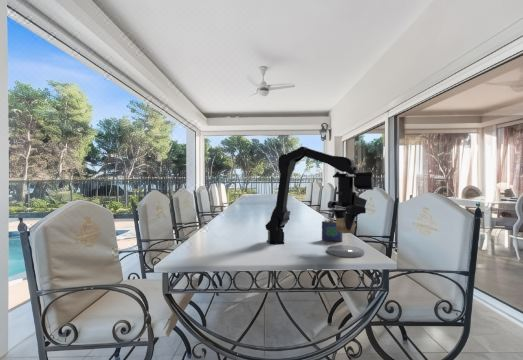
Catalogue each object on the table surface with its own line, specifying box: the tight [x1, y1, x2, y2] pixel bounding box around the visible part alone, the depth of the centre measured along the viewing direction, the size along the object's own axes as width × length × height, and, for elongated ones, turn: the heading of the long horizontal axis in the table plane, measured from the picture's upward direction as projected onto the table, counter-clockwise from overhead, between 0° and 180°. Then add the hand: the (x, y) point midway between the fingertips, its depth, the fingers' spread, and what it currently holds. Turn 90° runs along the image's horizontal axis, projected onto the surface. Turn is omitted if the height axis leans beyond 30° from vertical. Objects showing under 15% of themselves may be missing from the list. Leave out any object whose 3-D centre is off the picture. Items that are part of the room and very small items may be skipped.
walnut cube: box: [335, 217, 356, 234], centre depth 112 cm, size 5×5×5 cm
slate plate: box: [326, 244, 365, 259], centre depth 112 cm, size 14×14×1 cm
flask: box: [321, 217, 343, 243], centre depth 130 cm, size 9×3×11 cm, turn 74°
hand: (345, 228), depth 112 cm, fingers closed on walnut cube, 5 cm apart
